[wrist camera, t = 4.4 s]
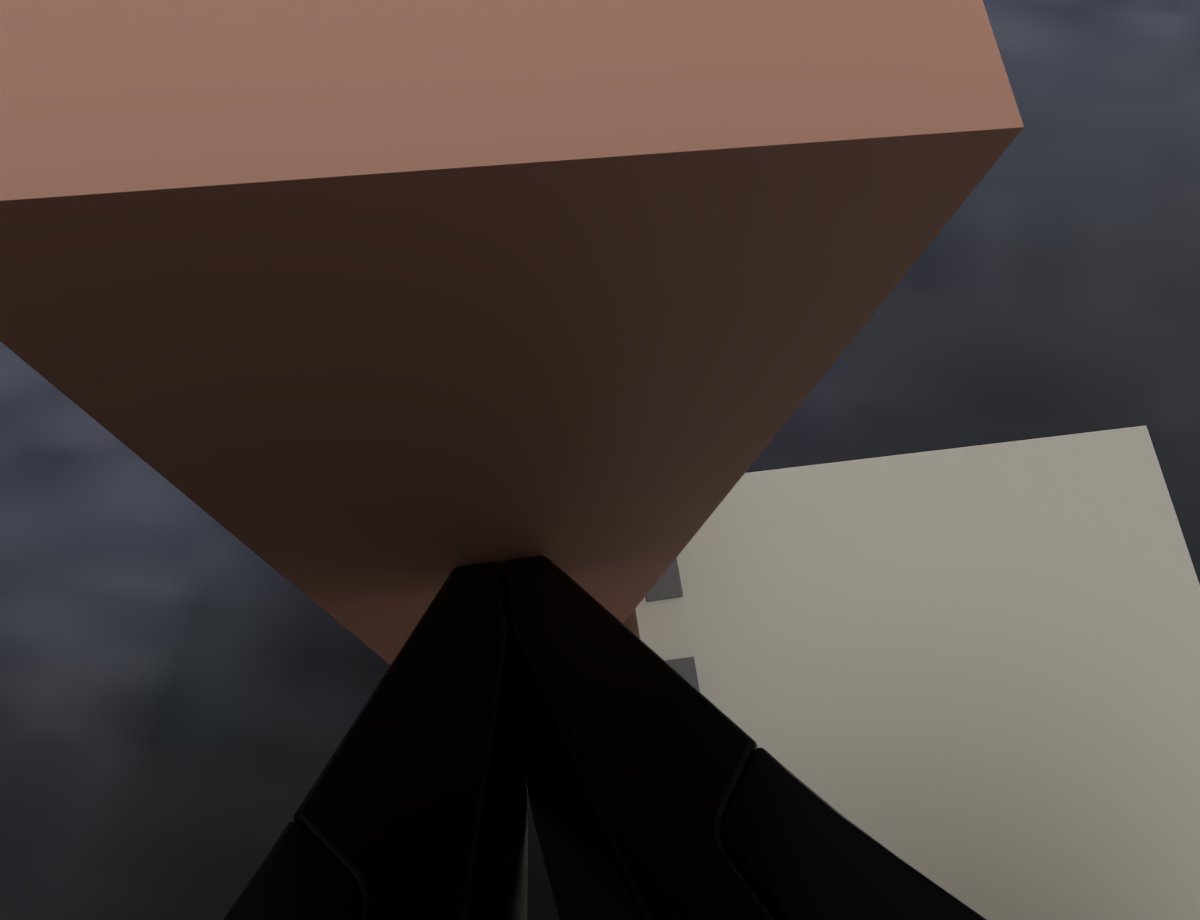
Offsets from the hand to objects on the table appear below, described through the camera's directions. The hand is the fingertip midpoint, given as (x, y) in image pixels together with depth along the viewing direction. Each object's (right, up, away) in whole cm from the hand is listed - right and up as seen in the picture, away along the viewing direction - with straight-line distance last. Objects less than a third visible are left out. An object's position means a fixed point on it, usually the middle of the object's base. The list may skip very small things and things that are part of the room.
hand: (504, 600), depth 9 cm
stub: (-1, 0, +9) cm, 9 cm away
